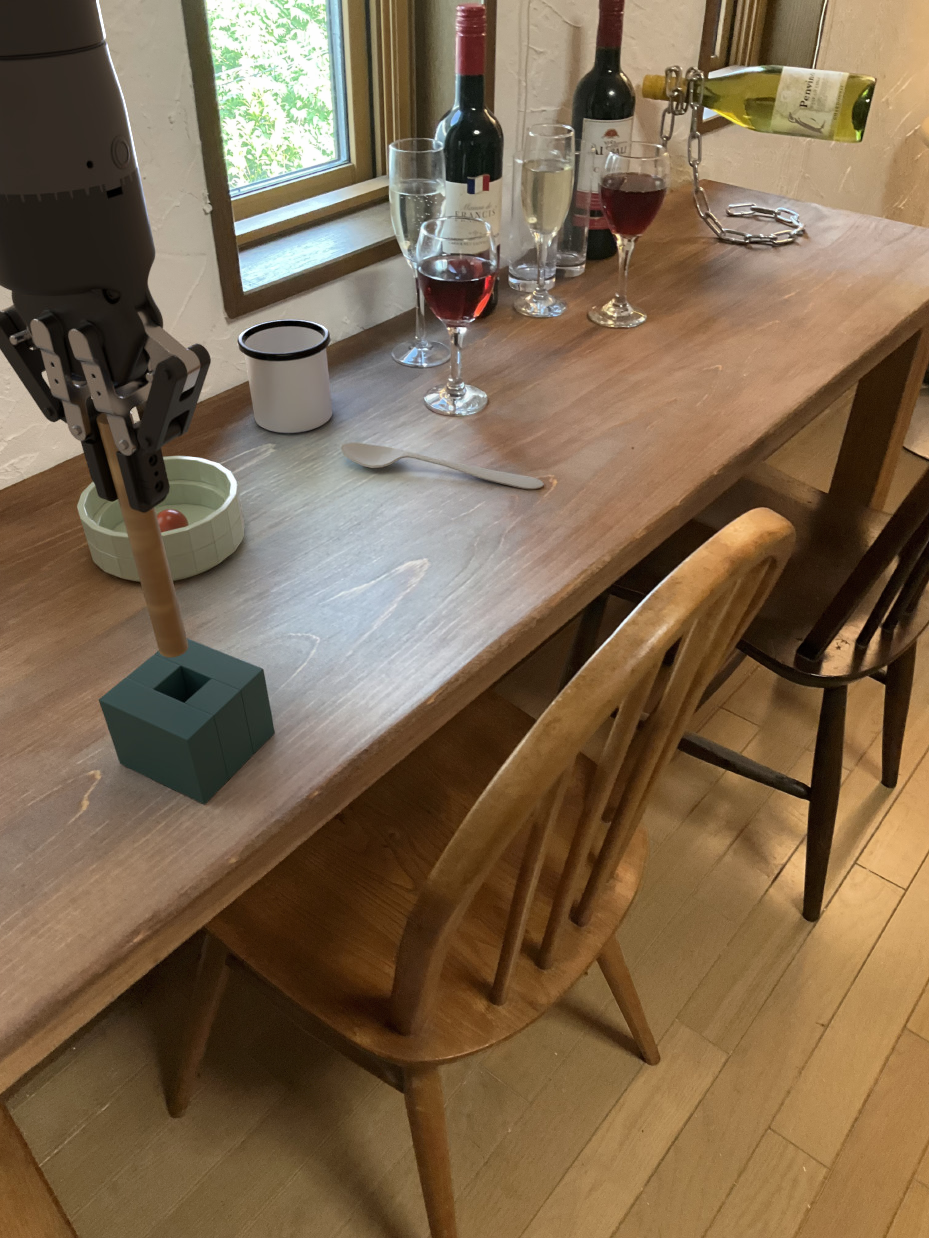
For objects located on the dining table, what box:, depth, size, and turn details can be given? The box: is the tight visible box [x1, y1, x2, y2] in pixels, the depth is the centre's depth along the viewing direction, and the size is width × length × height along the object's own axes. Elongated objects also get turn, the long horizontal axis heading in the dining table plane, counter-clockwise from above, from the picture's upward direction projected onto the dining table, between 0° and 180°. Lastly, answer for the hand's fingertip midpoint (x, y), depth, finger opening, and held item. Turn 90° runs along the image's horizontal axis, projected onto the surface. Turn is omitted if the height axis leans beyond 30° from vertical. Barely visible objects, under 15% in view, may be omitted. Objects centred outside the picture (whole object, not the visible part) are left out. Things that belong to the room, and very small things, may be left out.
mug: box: [236, 318, 333, 434], centre depth 102 cm, size 12×10×9 cm
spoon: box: [340, 442, 544, 490], centre depth 94 cm, size 4×21×2 cm, turn 75°
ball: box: [157, 509, 189, 532], centre depth 83 cm, size 3×3×3 cm
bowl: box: [76, 455, 246, 583], centre depth 84 cm, size 13×13×5 cm
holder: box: [98, 637, 276, 805], centre depth 64 cm, size 7×7×6 cm
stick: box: [97, 411, 189, 657], centre depth 55 cm, size 2×2×16 cm
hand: (134, 498), depth 53 cm, fingers closed on stick, 2 cm apart
